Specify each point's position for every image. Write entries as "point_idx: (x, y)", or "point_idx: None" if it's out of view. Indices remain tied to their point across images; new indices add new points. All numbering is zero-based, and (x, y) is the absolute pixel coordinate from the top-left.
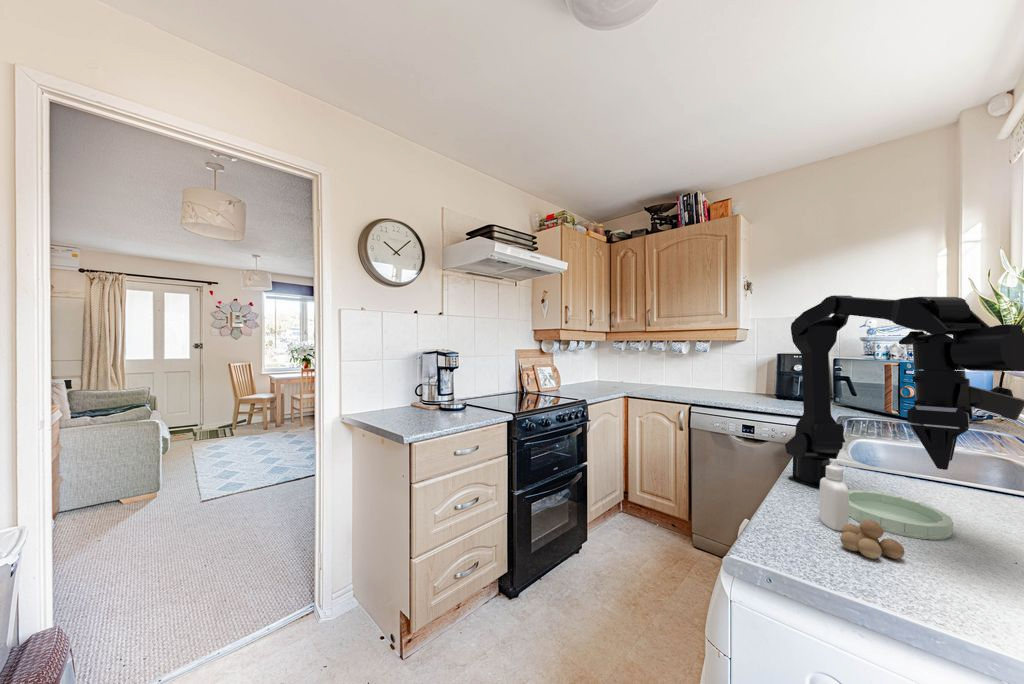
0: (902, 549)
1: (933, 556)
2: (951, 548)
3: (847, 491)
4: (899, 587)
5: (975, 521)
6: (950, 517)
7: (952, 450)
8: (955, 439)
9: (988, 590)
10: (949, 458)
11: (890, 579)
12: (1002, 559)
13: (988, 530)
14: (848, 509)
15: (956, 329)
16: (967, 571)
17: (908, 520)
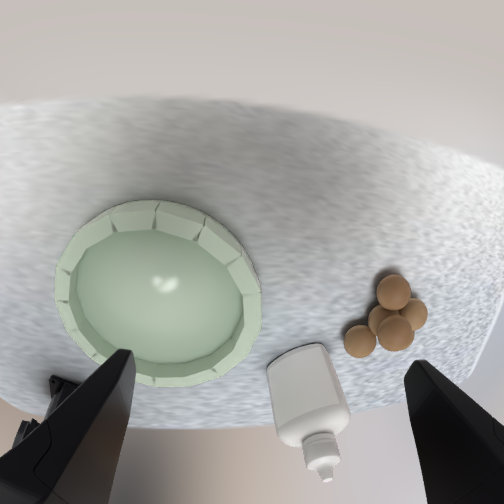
0: (405, 282)
1: (331, 231)
2: (251, 201)
3: (344, 408)
4: (469, 267)
5: (12, 165)
6: (113, 214)
7: (114, 393)
8: (77, 446)
9: (418, 169)
10: (464, 392)
11: (455, 276)
12: (232, 120)
13: (47, 141)
14: (330, 375)
15: None
16: (362, 186)
17: (165, 276)
